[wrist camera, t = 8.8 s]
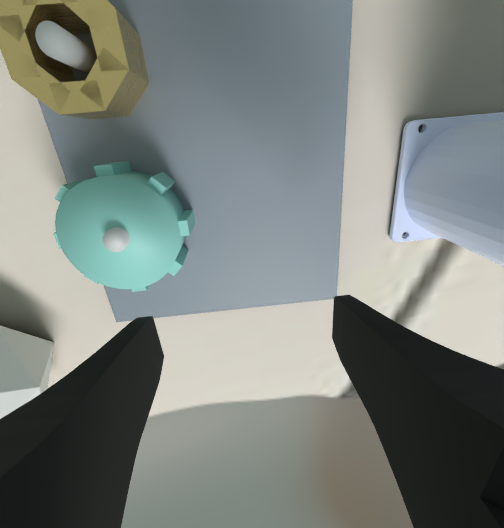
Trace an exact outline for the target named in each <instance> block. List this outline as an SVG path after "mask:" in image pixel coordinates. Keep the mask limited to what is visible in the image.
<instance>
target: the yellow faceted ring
mask: <svg viewBox="0 0 504 528" xmlns="http://www.w3.org/2000/svg"><path fill="white" fill-rule="evenodd" d="M43 21H52V22H54V23H56V24H57V25H59V26H60V27H62V28H64V29H65V30H67V31H68V32H70V33H71V34H73V35H74V36H77V34H78V33H91V35H92V39H93V43H94V46H95V50H96V54H97V60H96V61H95V63H94V65H93V67H92V69H91V71H90V73H89V74H88V76H87V78H86V80H85V81H78V80H76V79H75V77H74V73H73V70H72V67H71V66H69V65H67V64H64V63H62V62H60V61H58V60H56V59H53V58H51V57H49V56H47V55H46V54H45V53H44V52H43V51H42V50H41V49H40V47H39V46H38V43H37V41H36V35H35V33H36V28H37V26H38V25H39V24H40V23H41V22H43ZM0 49H1V52H2V54H3V57H4V60H5V62H6V65H7V68H8V70H9V73H10V76H11V78H12V80H14V81H15V82H16V83H18V84H19V85H20V86H22V87H23V88H24V89H26V90H27V91H28V92H30V93H31V94H32V95H34V96H35V97H36V98H38V99H39V100H40V101H42V102H43V103H44V104H46V105H47V106H48V107H49V108H51V109H52V110H53V111H55V112H56V113H57V114H59V115H65V116H71V117H78V118H85V119H104V118H116V117H128V116H130V114H131V113H132V111H133V109H134V108H135V106H136V104H137V103H138V101H139V100H140V98H141V96H142V95H143V93H144V91H145V90H146V88H147V86H148V85H149V80H148V74H147V69H146V64H145V59H144V54H143V49H142V44H141V39H140V35H139V34H138V33H137V32H136V31H135V30H134V28H133V27H132V26H131V25H130V24H129V23H128V22H127V20H126V19H125V18H124V17H123V16H122V15H121V14H120V13H119V11H118V10H117V9H116V8H115V7H114V6H113V5H112V4H111V3H110V2H109V1H108V0H0Z"/></svg>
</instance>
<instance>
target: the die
mask: <svg viewBox="0 0 504 528" xmlns="http://www.w3.org/2000/svg"><path fill="white" fill-rule="evenodd" d="M53 346H54V342H51V341H48V340H45V339H42V338H38V337H35V336H32V335H29V334H26V333H22V332H19V331H16V330H13V329H10V328H6V327H3V326H0V419H1V418H3V417H4V416H6V415H7V414H9V413H11V412H12V411H14V410H16V409H17V408H19V407H20V406H22V405H24V404H25V403H27V402H29V401H30V400H32V399H33V398H35V397H36V396H38V395H39V394H41V393H42V392H44V391H45V390H47V388H48V381H49V374H50V367H51V360H52V353H53Z"/></svg>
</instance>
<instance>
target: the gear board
mask: <svg viewBox="0 0 504 528" xmlns="http://www.w3.org/2000/svg"><path fill="white" fill-rule="evenodd" d="M108 1H109V2H110V3H111V4H112V5H113V6H114V7H115V8H116V9H117V10H118V11H119V13H120V14H121V15H122V16H123V17H124V18H125V19H126V20H127V22H128V23H129V24H130V25H131V26H132V27H133V28H134V30H135V31H136V32H137V33H138V34H139V35H140V39H141V44H142V49H143V54H144V59H145V64H146V69H147V74H148V80H149V85H148V86H147V88H146V90H145V91H144V93H143V95H142V96H141V98H140V100H139V101H138V103H137V104H136V106H135V108H134V109H133V111H132V113H131V114H130V116H128V117H116V118H104V119H85V118H78V117H71V116H65V115H59V114H57V113H56V112H55V111H53V110H52V109H51V108H49V107H48V106H47V105H46V104H44V103H43V102H42V101H40V100H39V99H38V101H39V104H40V106H41V109H42V112H43V115H44V118H45V121H46V123H47V126H48V129H49V132H50V135H51V138H52V140H53V143H54V146H55V149H56V152H57V155H58V157H59V160H60V163H61V166H62V169H63V172H64V174H65V177H66V180H67V183H68V184H65V185H62V187H61V189H60V190H59V192H58V194H57V196H56V197H55V199H56V200H58V201H59V202H60V204H59V206H58V210H57V213H56V220H55V225H56V232H55V233H54V236H55V238H56V241H57V243H58V246H59V248H62V250H63V252H64V254H65V255H66V257H67V258H68V259H69V261H70V262H71V263H72V264H73V265H74V266H75V267H76V268H77V269H78V270H79V271H80V272H81V273H83V274H84V276H85V277H87V278H88V279H90V280H92V281H94V282H95V283H97V284H99V283H100V284H103V285H104V288H105V291H106V294H107V296H108V299H109V302H110V305H111V308H112V311H113V313H114V316H115V319H116V322H121V321H130V320H134V319H136V318H138V317H147V316H153V318H159V317H168V316H177V315H187V314H196V313H205V312H215V311H224V310H233V309H243V308H252V307H262V306H271V305H280V304H290V303H299V302H308V301H318V300H327V299H334V297H335V296H337V284H338V265H339V246H340V227H341V208H342V190H343V171H344V152H345V133H346V114H347V95H348V77H349V58H350V39H351V20H352V1H353V0H108ZM35 35H36V41H37V43H38V46H39V47H40V49H41V50H42V51H43V52H44V53H45V54H46V55H47V56H49V57H51V58H53V59H56V60H58V61H60V62H62V63H64V64H67V65H69V66H71V67H72V70H73V73H74V77H75V79H76V80H78V81H85V80H86V78H87V76H88V74H89V73H90V71H91V69H92V67H93V65H94V63H95V61H96V60H97V54H96V50H95V46H94V43H93V39H92V35H91V33H78V34H77V36H74V35H73V34H71V33H70V32H68V31H67V30H65V29H64V28H62V27H60V26H59V25H57V24H56V23H54V22H52V21H43V22H41V23H40V24H39V25H38V26H37V28H36V33H35Z"/></svg>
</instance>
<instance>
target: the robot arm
mask: <svg viewBox="0 0 504 528" xmlns="http://www.w3.org/2000/svg"><path fill="white" fill-rule="evenodd" d="M420 125H422V127H423V128H422V131H421V132H420V133H419V131H418V128H419V126H420ZM404 232H406V235H405V236H404V237H402V234H403V233H404ZM435 238H444V239H446V240H448V241H450V242H453V243H455V244H457V245H459V246H461V247H463V248H465V249H468V250H470V251H472V252H474V253H476V254H478V255H481V256H483V257H485V258H487V259H489V260H491V261H493V262H496V263H498V264H500V265H502V266H504V112H498V113H487V114H476V115H465V116H454V117H443V118H432V119H421V120H412V121H409V122H408V123H407V124H406V125H405V126H404V130H403V137H402V144H401V152H400V160H399V167H398V175H397V182H396V190H395V197H394V205H393V213H392V220H391V228H390V239H391V240H392V241H394V242H406V241H416V240H425V239H435ZM332 338H333V341H334V344H335V347H336V350H337V352H338V355H339V358H340V360H341V362H342V364H343V366H344V368H345V370H346V372H347V374H348V376H349V378H350V380H351V381H352V383H353V385H354V387H355V389H356V391H357V393H358V395H359V397H360V398H361V400H362V402H363V404H364V406H365V408H366V410H367V412H368V414H369V416H370V418H371V420H372V422H373V424H374V426H375V429H376V431H377V434H378V436H379V438H380V441H381V443H382V446H383V448H384V451H385V453H386V456H387V458H388V460H389V463H390V466H391V468H392V471H393V473H394V476H395V479H396V481H397V484H398V486H399V489H400V492H401V494H402V497H403V500H404V503H405V505H406V508H407V510H408V513H409V516H410V519H411V522H412V524H413V527H414V528H504V369H500V368H498V367H495V366H492V365H489V364H487V363H484V362H481V361H479V360H476V359H473V358H470V357H468V356H465V355H463V354H460V353H458V352H455V351H453V350H451V349H449V348H446V347H444V346H442V345H440V344H437V343H435V342H433V341H431V340H429V339H427V338H425V337H422V336H421V335H419V334H417V333H415V332H413V331H411V330H409V329H407V328H405V327H403V326H402V325H400V324H398V323H396V322H394V321H393V320H391V319H389V318H388V317H386V316H384V315H382V314H381V313H379V312H377V311H376V310H374V309H373V308H371V307H369V306H368V305H366V304H364V303H363V302H361V301H359V300H358V299H356V298H354V297H352V296H350V295H344V296H335V297H334V311H333V331H332ZM163 359H164V355H163V351H162V348H161V344H160V340H159V337H158V333H157V330H156V326H155V323H154V319H153V316H147V317H138V318H136V319H134V320H133V321H132V322H131V323H129V324H128V325H127V326H126V327H125V328H123V329H122V330H121V331H120V332H119V333H118V334H117V335H115V336H114V337H113V338H112V339H111V340H110V341H108V342H107V343H106V344H105V345H104V346H103V347H101V348H100V349H99V350H98V351H97V352H96V353H94V354H93V355H92V356H91V357H89V358H88V359H87V360H85V361H84V362H83V363H82V364H80V365H79V366H78V367H77V368H75V369H74V370H73V371H72V372H70V373H69V374H68V375H66V376H65V377H64V378H62V379H61V380H60V381H58V382H57V383H55V384H54V385H52V386H51V387H50V388H48V389H47V390H45V391H44V392H42V393H41V394H39V395H38V396H36V397H35V398H33V399H32V400H30V401H29V402H27V403H25V404H24V405H22V406H20V407H19V408H17V409H16V410H14V411H12V412H11V413H9V414H7V415H6V416H4V417H3V418H1V419H0V528H121V523H122V518H123V514H124V509H125V503H126V499H127V494H128V489H129V484H130V480H131V475H132V471H133V466H134V462H135V458H136V453H137V450H138V446H139V443H140V439H141V436H142V433H143V430H144V427H145V424H146V421H147V418H148V415H149V412H150V409H151V406H152V403H153V400H154V396H155V393H156V390H157V387H158V384H159V380H160V375H161V370H162V365H163Z"/></svg>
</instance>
